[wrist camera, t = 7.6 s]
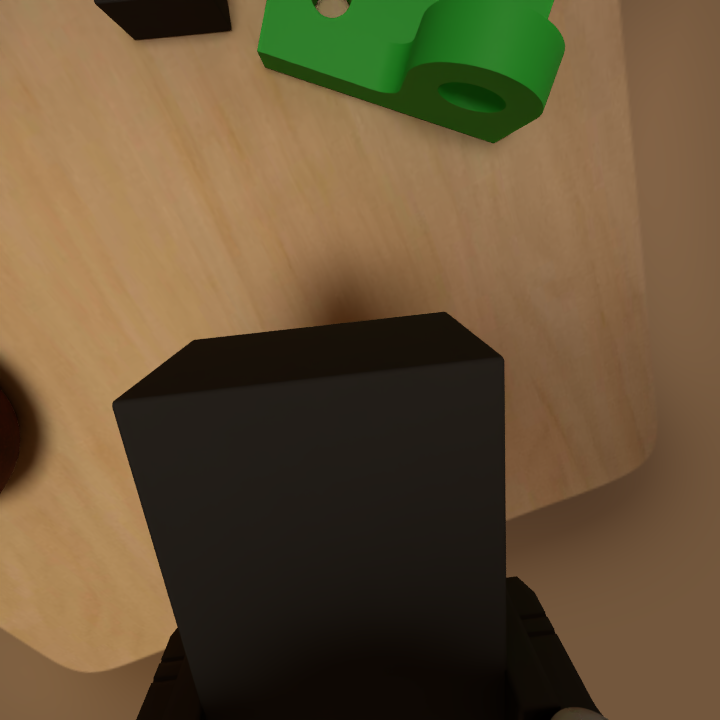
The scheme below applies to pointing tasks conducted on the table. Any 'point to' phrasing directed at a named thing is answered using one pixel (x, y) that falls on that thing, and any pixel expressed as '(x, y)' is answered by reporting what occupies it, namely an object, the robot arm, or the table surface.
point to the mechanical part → (425, 57)
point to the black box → (331, 518)
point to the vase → (8, 440)
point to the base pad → (167, 16)
